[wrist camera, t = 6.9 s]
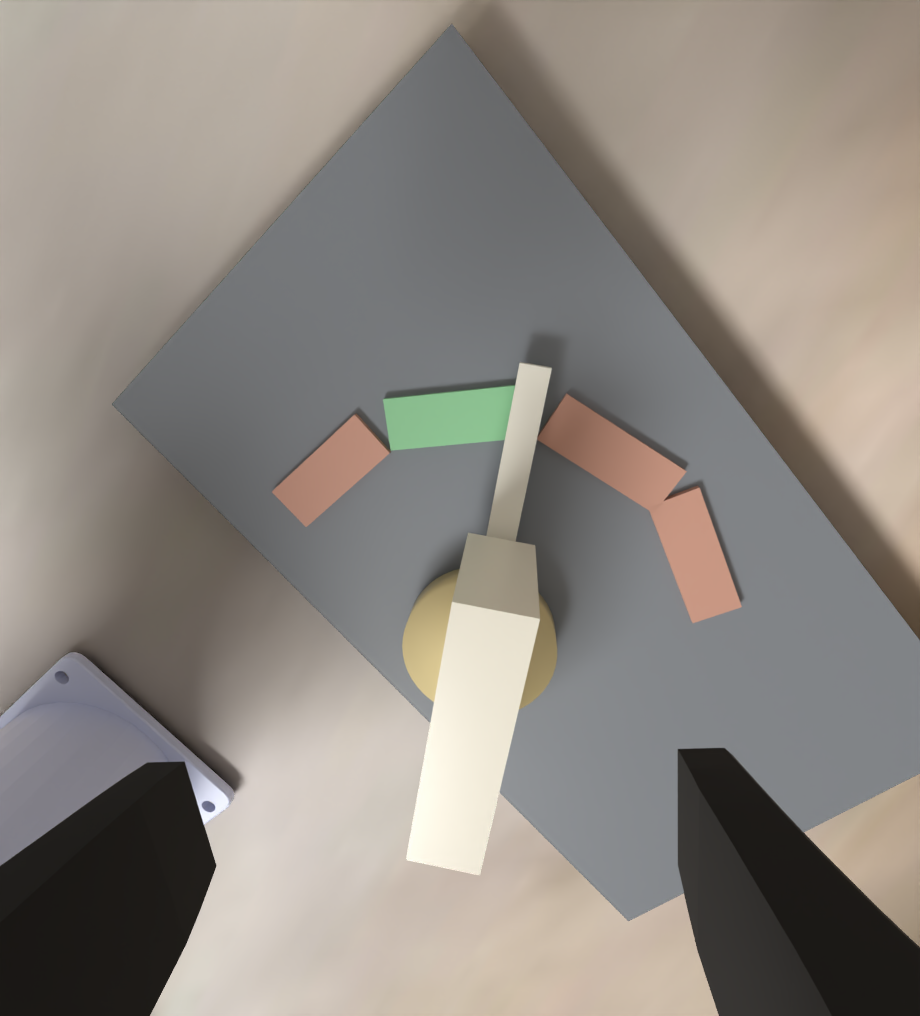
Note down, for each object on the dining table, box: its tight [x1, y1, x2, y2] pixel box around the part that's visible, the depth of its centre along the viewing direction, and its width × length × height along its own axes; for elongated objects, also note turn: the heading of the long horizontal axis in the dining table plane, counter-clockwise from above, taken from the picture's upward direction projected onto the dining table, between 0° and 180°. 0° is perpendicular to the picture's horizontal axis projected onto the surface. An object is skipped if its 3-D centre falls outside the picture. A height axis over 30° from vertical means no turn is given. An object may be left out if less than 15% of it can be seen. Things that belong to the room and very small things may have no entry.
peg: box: [402, 362, 557, 875], centre depth 15 cm, size 12×4×5 cm, turn 171°
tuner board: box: [112, 24, 920, 921], centre depth 18 cm, size 13×24×1 cm, turn 41°
